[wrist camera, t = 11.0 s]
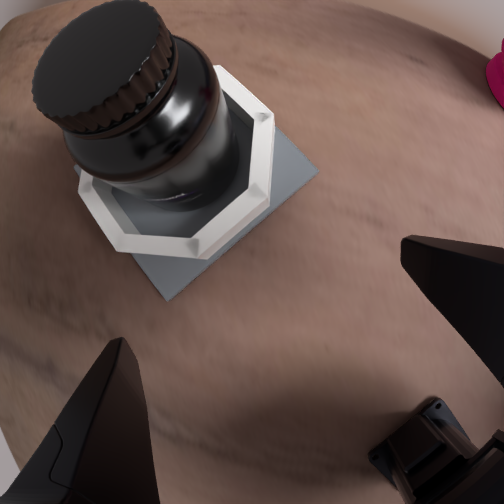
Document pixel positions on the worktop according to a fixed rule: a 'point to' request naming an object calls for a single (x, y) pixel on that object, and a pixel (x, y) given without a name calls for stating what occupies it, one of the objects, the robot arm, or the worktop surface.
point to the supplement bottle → (139, 106)
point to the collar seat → (213, 215)
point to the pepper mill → (496, 75)
